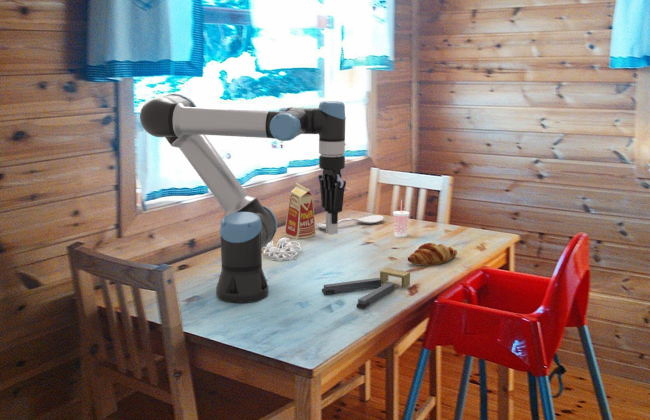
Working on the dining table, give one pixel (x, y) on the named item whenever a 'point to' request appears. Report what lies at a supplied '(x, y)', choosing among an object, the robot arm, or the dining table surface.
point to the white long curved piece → (367, 220)
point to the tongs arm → (352, 285)
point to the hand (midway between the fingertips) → (331, 233)
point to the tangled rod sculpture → (284, 245)
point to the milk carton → (300, 214)
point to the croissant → (432, 254)
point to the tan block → (395, 273)
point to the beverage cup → (400, 222)
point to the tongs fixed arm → (376, 295)
